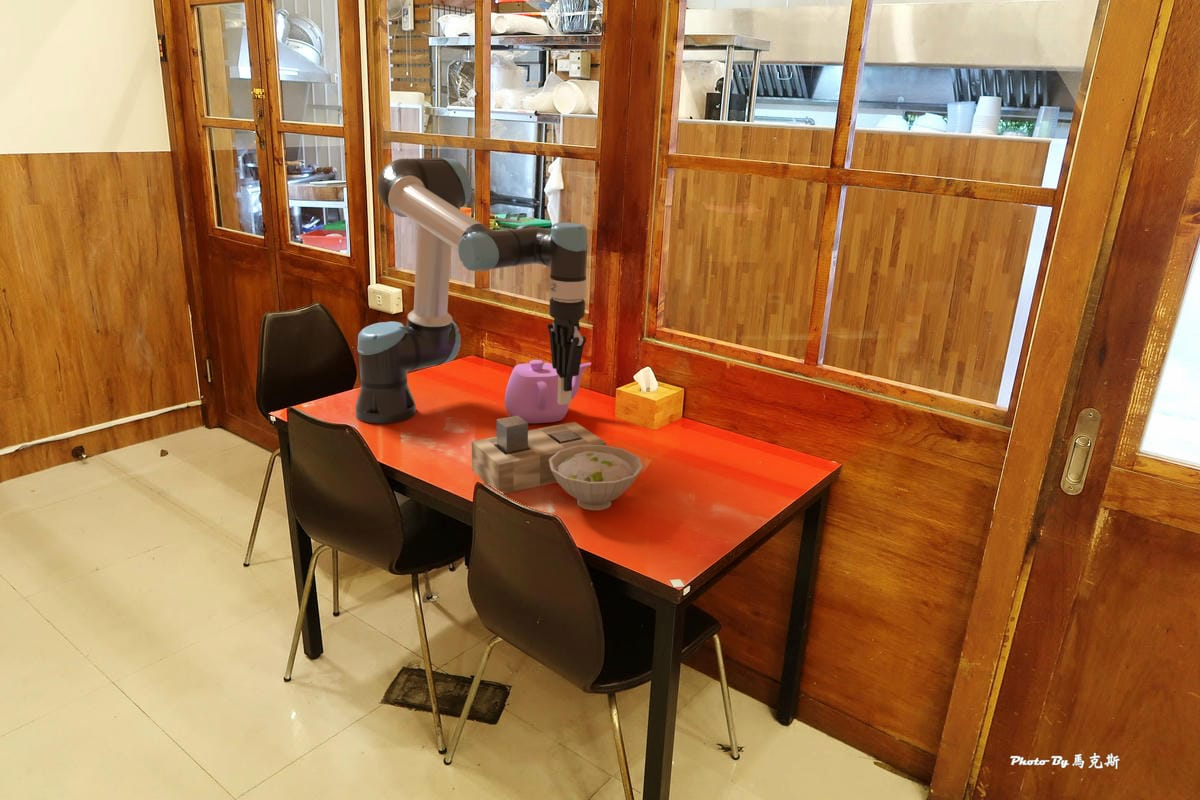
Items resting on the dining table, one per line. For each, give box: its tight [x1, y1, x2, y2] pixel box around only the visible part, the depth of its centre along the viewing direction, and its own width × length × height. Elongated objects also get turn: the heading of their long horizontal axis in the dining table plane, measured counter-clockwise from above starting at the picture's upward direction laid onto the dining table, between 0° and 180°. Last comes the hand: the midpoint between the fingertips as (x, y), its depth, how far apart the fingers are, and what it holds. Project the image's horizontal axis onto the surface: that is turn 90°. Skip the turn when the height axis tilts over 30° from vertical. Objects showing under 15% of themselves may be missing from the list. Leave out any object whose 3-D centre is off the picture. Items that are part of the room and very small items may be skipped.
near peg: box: [496, 416, 529, 455], centre depth 171 cm, size 5×5×6 cm
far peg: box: [550, 430, 580, 444], centre depth 179 cm, size 5×5×6 cm
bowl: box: [549, 445, 644, 511], centre depth 162 cm, size 19×19×10 cm
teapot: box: [504, 359, 592, 424], centre depth 206 cm, size 23×21×15 cm
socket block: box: [471, 421, 607, 495], centre depth 176 cm, size 14×26×7 cm, turn 121°
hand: (564, 403), depth 176 cm, fingers closed
